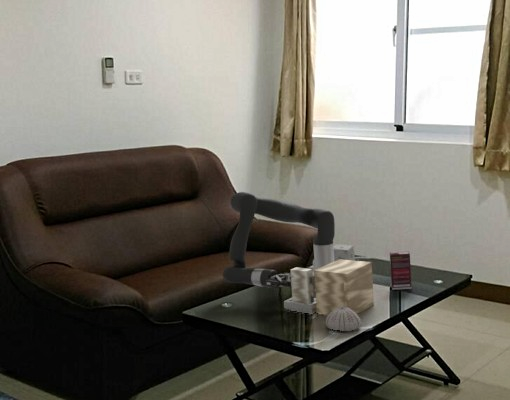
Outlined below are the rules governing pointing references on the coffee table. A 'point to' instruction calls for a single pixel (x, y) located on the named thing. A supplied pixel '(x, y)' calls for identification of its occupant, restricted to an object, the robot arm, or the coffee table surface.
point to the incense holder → (344, 252)
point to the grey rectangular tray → (300, 306)
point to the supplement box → (400, 270)
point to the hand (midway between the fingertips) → (296, 281)
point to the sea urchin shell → (343, 319)
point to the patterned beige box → (343, 286)
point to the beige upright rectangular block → (302, 285)
